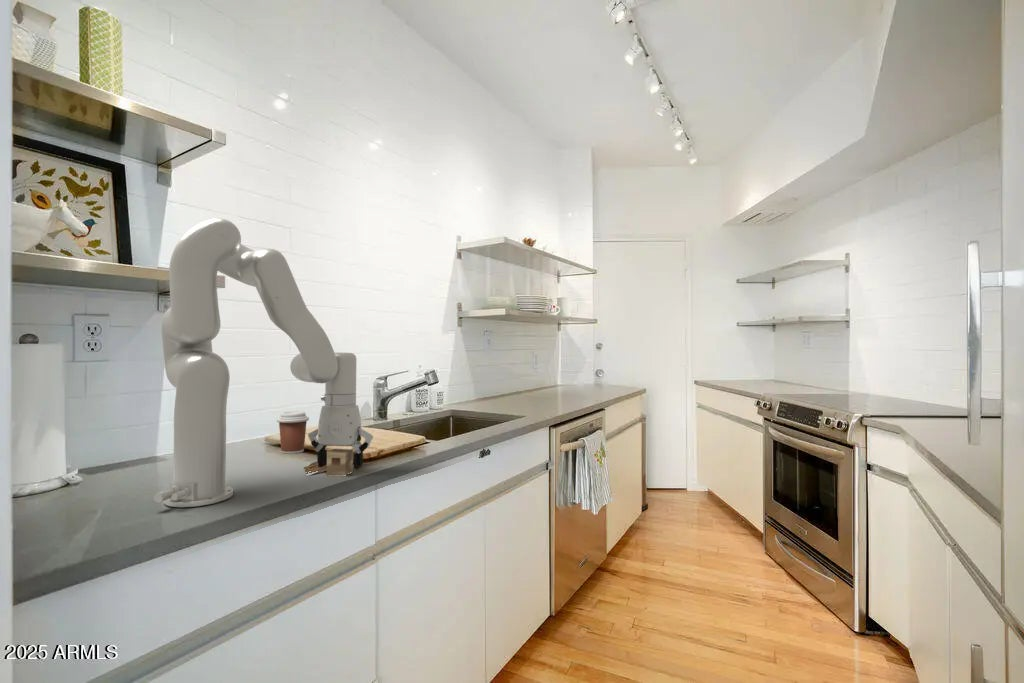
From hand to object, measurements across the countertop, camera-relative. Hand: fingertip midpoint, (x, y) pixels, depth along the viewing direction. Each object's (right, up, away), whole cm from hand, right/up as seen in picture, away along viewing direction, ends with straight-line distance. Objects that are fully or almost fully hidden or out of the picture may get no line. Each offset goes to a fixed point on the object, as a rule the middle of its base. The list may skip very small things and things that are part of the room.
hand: (340, 467), depth 130 cm
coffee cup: (-23, -2, +26) cm, 35 cm away
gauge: (+1, -2, +4) cm, 4 cm away
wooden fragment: (-6, -2, +10) cm, 12 cm away
